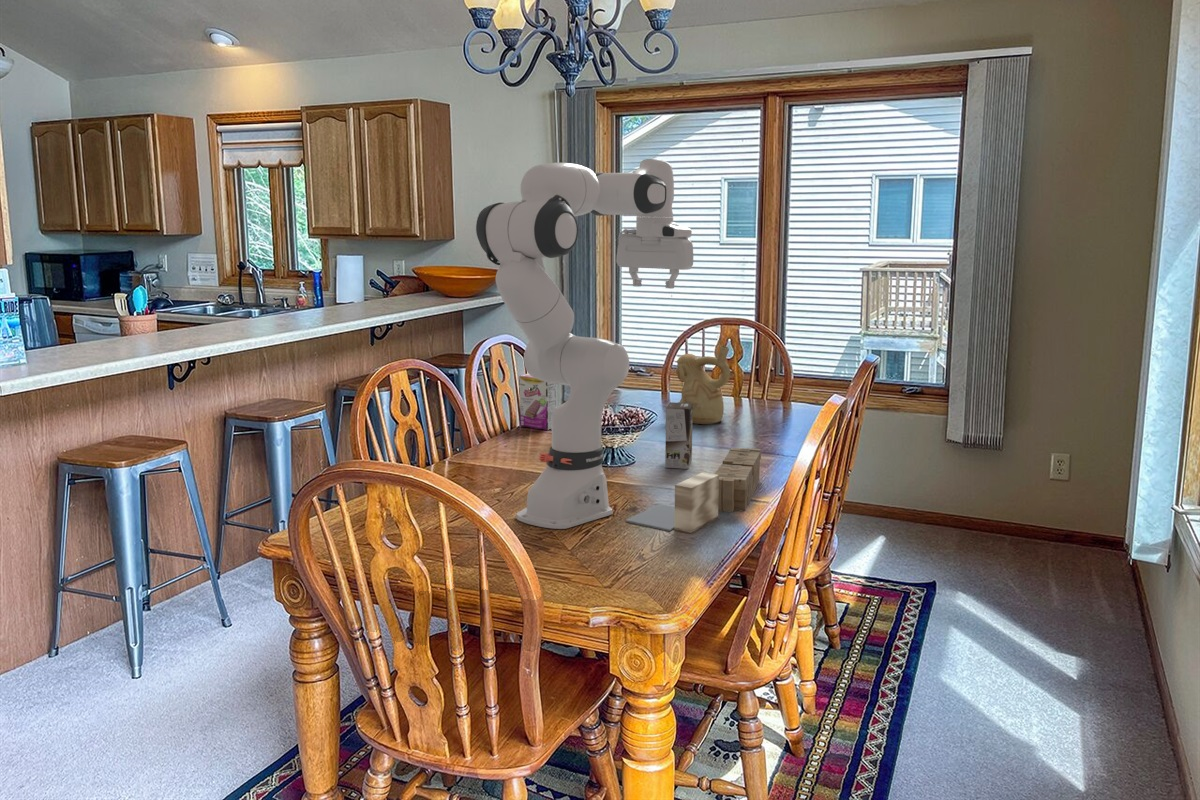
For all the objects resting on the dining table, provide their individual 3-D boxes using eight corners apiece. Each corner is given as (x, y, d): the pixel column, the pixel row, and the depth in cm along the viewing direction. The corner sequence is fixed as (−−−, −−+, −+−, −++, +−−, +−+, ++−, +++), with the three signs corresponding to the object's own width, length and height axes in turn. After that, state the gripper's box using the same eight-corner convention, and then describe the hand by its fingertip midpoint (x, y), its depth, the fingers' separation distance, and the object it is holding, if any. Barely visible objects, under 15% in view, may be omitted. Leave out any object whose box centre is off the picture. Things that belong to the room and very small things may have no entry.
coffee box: (689, 469, 241) (689, 408, 238) (664, 468, 242) (665, 407, 239) (692, 460, 250) (693, 402, 247) (668, 459, 251) (669, 401, 248)
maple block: (691, 534, 192) (691, 487, 190) (674, 530, 194) (674, 484, 192) (718, 519, 201) (719, 474, 199) (701, 516, 204) (702, 472, 202)
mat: (669, 531, 193) (669, 529, 193) (625, 521, 199) (625, 520, 199) (702, 513, 205) (702, 512, 204) (659, 505, 211) (659, 503, 211)
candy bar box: (518, 426, 291) (517, 375, 288) (528, 423, 296) (527, 373, 292) (547, 431, 286) (546, 378, 282) (557, 428, 290) (556, 376, 287)
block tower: (744, 518, 205) (761, 479, 233) (745, 481, 203) (762, 446, 231) (708, 514, 208) (730, 476, 235) (709, 478, 206) (731, 444, 233)
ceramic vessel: (688, 412, 312) (689, 339, 307) (740, 420, 300) (742, 343, 295) (661, 421, 298) (662, 344, 293) (715, 429, 287) (717, 349, 282)
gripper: (611, 228, 225) (610, 285, 228) (683, 230, 214) (682, 290, 216) (626, 228, 230) (625, 284, 233) (697, 230, 219) (695, 288, 221)
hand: (653, 287), depth 225 cm, fingers open, 8 cm apart
